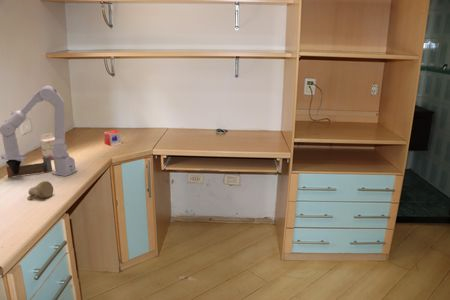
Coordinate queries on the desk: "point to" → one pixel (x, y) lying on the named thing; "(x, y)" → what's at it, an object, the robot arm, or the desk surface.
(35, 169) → the brown flat bar
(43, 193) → the grey rounded lump
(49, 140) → the ink cartridge box
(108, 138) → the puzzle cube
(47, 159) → the gate post
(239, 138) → the desk surface
